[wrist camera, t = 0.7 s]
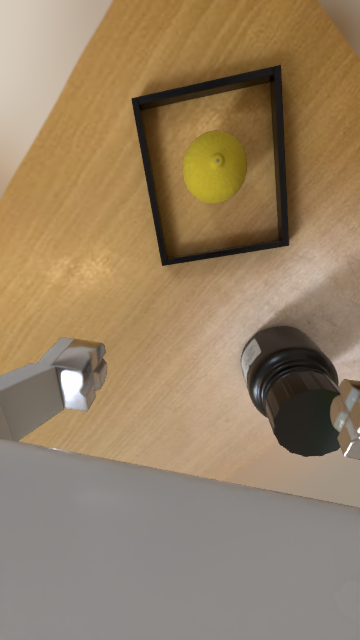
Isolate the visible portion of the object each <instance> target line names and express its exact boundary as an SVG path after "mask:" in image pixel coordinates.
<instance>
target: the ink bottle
mask: <svg viewBox="0 0 360 640" xmlns="http://www.w3.org/2000/svg"><path fill="white" fill-rule="evenodd" d="M241 367H242V372H243V375H244V378H245V382H246V385H247V388H248V392H249V395H250V398H251V400H252V402H253V404H254V405H255V407H256V408H257V410H258V411H259V412H260V413H261V414H263V415H264V416H265V417H267V418H268V419H269V422H270V425H271V427H272V430H273V433H274V435H275V436H276V438H277V440H278V442H279V444H280V445H281V446H283V447H285V448H286V449H287V450H289V452H291V453H295V454H299V455H302V456H305V457H308V456H323V455H325V454H327V453H330V452H333V451H336V450H338V449H339V448H340V444H339V441H338V439H337V438H338V436H339V434H340V432H339V431H337V430H336V429H335V428H334V427H333V424H332V421H331V416H330V410H331V404H332V401H333V399H334V398H335V397H336V396H338V395H340V394H341V393H340V391H339V386H338V375H337V372H336V369H335V367H334V365H333V364H332V362H331V361H330V359H329V358H328V357H327V356H326V355H325V354H324V353H323V352H322V351H321V350H320V349H319V348H318V346H317V345H316V344H315V343H314V342H313V341H312V340H311V339H310V338H309V337H308V336H307V335H306V334H305V333H303V332H302V331H300V330H298V329H296V328H293V327H288V326H277V327H272V328H268V329H265V330H263V331H261V332H259V333H257V334H256V335H255V336H253V337H252V338H251V339H250V340H249V341H248V342H247V344H246V345H245V347H244V349H243V352H242V356H241Z"/></svg>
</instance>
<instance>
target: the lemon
mask: <svg viewBox="0 0 360 640" xmlns="http://www.w3.org/2000/svg"><path fill="white" fill-rule="evenodd" d="M246 172H247V159H246V153H245V151H244V148H243V146H242V145H241V143H240V142H239V141H238V139H237V138H235V137H234V136H233V135H231V134H229V133H227V132H225V131H216V130H215V131H210V132H206V133H204V134H203V135H201V136H199V137H198V138H197V139H196V140H195V141H193V142H192V144H191V145H190V147H189V148H188V150H187V152H186V155H185V158H184V162H183V177H184V180H185V183H186V186H187V188H188V189H189V191H190V192H191V193H192V194H193V195H194V196H195V197H196V198H197V199H199V200H201V201H203V202H207V203H219V202H223V201H226V200H227V199H229V198H231V197H232V196H233V195H234V194H235V193H236V192H237V191H238V190H239V189H240V187H241V185H242V184H243V182H244V179H245V176H246Z"/></svg>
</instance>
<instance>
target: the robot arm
mask: <svg viewBox="0 0 360 640" xmlns="http://www.w3.org/2000/svg"><path fill="white" fill-rule="evenodd" d="M105 353H106V351H105V345H104V344H103V343H98V342H93V341H87V340H81V339H74V338H68V337H62V338H60V339H59V340H58V341H57V342H56V343H55V344H54V345H53V346H52V347H51V348H50V349H49V350H48V351H47V352H46V354H45V355H44V356H43V357H42V358H41V359H40V360H39V361H38V362H37V363H36V364H35V363H31V364H28V365H26V366H23V367H21V368H18V369H16V370H13V371H11V372H8V373H6V374H3V375H1V376H0V640H360V508H358V507H354V506H349V505H343V504H338V503H333V502H327V501H323V500H317V499H312V498H307V497H302V496H297V495H292V494H286V493H281V492H276V491H271V490H266V489H260V488H256V487H250V486H245V485H240V484H234V483H230V482H225V481H219V480H214V479H209V478H204V477H199V476H194V475H189V474H183V473H178V472H173V471H168V470H163V469H158V468H152V467H147V466H142V465H137V464H132V463H127V462H121V461H116V460H111V459H106V458H101V457H96V456H90V455H85V454H80V453H75V452H70V451H65V450H59V449H54V448H49V447H44V446H39V445H34V444H28V443H23V442H18V441H19V440H20V439H22V438H23V437H25V436H26V435H28V434H29V433H31V432H32V431H33V430H35V429H36V428H38V427H39V426H41V425H42V424H44V423H45V422H46V421H48V420H49V419H51V418H52V417H54V416H55V415H57V414H58V413H59V412H61V411H62V410H64V408H67V409H74V410H81V411H87V412H88V410H89V408H90V407H91V405H92V403H93V401H94V400H95V398H96V394H95V391H97V390H99V389H100V388H101V387H102V386H103V384H104V382H105V378H106V375H107V363H106V361H105V360H104V359H103V356H104V355H105ZM339 391H340V393H341V394H340V395H338V396H336V397H335V398H334V399H333V401H332V404H331V410H330V416H331V421H332V424H333V427H334V428H335V429H336V430H337V431H339V432H340V434H339V436H338V438H337V439H338V441H339V444H340V447H341V450H342V452H343V455H344V457H349V458H354V459H358V460H360V381H355V380H348V379H344V380H343V381H342V382H341V384H340V386H339Z"/></svg>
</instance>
